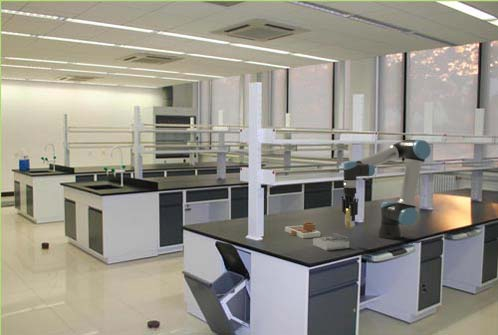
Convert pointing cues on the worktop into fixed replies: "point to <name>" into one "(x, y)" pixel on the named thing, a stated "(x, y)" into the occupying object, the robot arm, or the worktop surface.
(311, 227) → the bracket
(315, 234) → the cradle
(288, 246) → the worktop surface
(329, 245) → the jig
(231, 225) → the worktop surface
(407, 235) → the worktop surface
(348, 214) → the gold brass cylinder
